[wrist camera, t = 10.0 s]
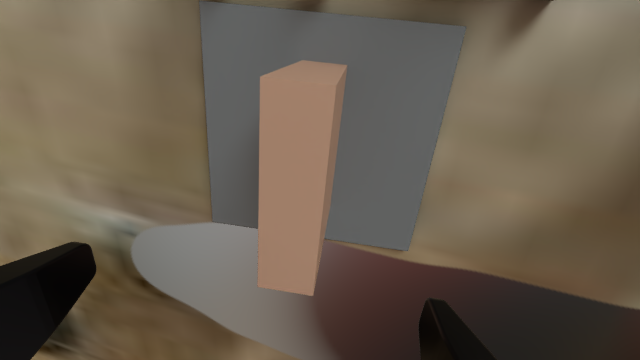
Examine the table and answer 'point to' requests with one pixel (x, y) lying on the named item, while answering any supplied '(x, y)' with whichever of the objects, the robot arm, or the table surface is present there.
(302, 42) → the charcoal mat
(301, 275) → the terracotta board
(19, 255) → the table surface
